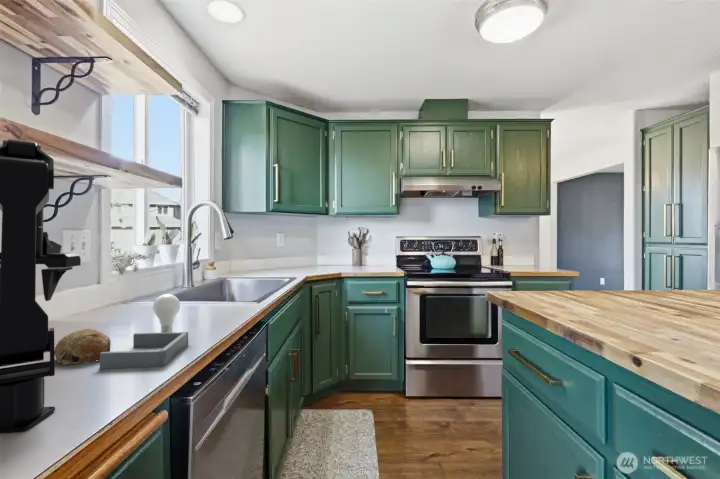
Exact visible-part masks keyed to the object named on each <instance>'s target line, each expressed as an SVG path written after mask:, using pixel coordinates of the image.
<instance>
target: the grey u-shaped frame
mask: <svg viewBox="0 0 720 479" xmlns="http://www.w3.org/2000/svg"><path fill="white" fill-rule="evenodd" d="M132 342H133V348H140V347H141V348H144V347H143V346H150V347H163V348H162V349H161V350H160V349H159V350H156V349H155V350H127V351H126V350H123V351H121V350H120V351H118V350H117V351H110V352H101V353H100V360H99V369H100V368H103V369H128V368H155V367H156V368H157V367H160V368H161V367H165V366H166V365H168V364H169V363H170V362H171V361H172V360H173V359H174V358H175V357H176V356H177V355H178V354H179V353H181V352H182V351H183V350H184V349H185V348H186V347H187V346H188V345H189V331H179V332H176V331H175V332H173V331H172V332H167V333H161V332H135V333H133V341H132Z"/></svg>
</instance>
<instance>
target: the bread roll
mask: <svg viewBox="0 0 720 479" xmlns="http://www.w3.org/2000/svg"><path fill="white" fill-rule="evenodd" d="M54 350H55V360H56V362H57V363H58V364H60V363H63V364H70V365H80V364H79V363H82V364H85V363H84V362H90V363H93V362H92V361H96V360H99V361H100V353H101V352H111V339H110V338H109V336H107V335H106V334H105V333H103V332H101V331H99V330H96V329H93V328H84V329H79V330H75V331H72V332H71V333H69V334H67V335H65V336H63V337H62V338H60V340H58V342H57V343H56V345H55V346H54ZM96 362H97V361H96ZM63 364H62V365H63Z"/></svg>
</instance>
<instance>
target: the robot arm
mask: <svg viewBox="0 0 720 479" xmlns="http://www.w3.org/2000/svg"><path fill="white" fill-rule="evenodd" d="M41 147H42V146H41V144H38V143H36V142H35V141H26V140H20V139H19V140H18V139H11V138H9V139H6V140H5V139H3V140H2V145H0V211H1V216H2V217H1V239H0V240H1V241H0V242H1V243H0V433H6V432H7V433H8V432H22V431H26V430H29V429H30V428H32V426H34V425H36V424H37V423H39V422H40V421H42V420H43V419H45V418H46V417H47V416H49V415H50V414H51V413H53V412H54V411H56V406H45V378H46V377H53V376H55V375H56V373H55V368H56V364H55V360H56V357H55V327H49V315H48V314H47V313H46V311H45V310H44V309H43V308H42V306H41V305H40V304H39V303H38V302H37V301H36V299H37V298H36V297H37V296H36V291H37V290H36V284H37V283H36V282H37V280H36V278H37V277H36V275H37V274H36V273H37V272H36V271H37V265H45V266H46V267H47V268H43V269H41V280H42V281H41V282H42V290H43V291H42V292H43V297H44V300H45V302H50V301H51V299H52V298H53V295H54V294H55V291H56V289H57V286H58V284H59V282H60V280H61V278H62V277H63V275H64V274H65V273H66V272H67V271H71V270H73V267H77V266H81V262H82V260H81V256H80V255H79V254H78V253H77V252H61V251H62V247H63V246H62V245H61V244H58V243H57V242H55V241H53V240H50V239H49V234H48V231H44V207H45V206H46V205H47V204H48V202H49V200H50V190H54V189H55V188H54V186H55V185H54V184H55V177H54V176H55V171H54V170H55V167H54V164H55V162H54V161H55V160H54V159H53V158H52V156H49V155H48V154H47V153H46V152H44V151H42V148H41ZM45 353H49V360H46V361H45V360H44V359H45V356H44V354H45ZM40 361H41V362H40Z"/></svg>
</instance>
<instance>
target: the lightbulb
mask: <svg viewBox="0 0 720 479" xmlns="http://www.w3.org/2000/svg"><path fill="white" fill-rule="evenodd" d="M180 308H181V302H180V300H179V298H178V297H177V296H176V295H174V294H172V293H164V294H161V295H160V296H158V297H157V298H156V299H154V301H153V304H152V310H153V312H154V314H155V316H156V317H157V318H158V320H159V323H160V333H167V332H173V323H174V320H175V318H176V316H177V314H178V313H179V311H180Z"/></svg>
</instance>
